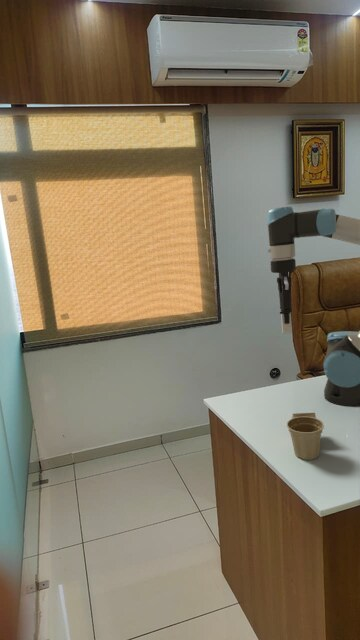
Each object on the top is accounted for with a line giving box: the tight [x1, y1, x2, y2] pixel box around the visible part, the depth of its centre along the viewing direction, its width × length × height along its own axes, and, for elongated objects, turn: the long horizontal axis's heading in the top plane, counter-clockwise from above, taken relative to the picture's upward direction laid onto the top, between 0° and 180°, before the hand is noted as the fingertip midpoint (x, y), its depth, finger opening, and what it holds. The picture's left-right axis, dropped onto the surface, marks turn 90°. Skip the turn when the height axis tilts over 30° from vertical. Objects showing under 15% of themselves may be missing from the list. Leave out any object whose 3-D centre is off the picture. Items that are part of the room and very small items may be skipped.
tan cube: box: [291, 412, 317, 419], centre depth 116 cm, size 6×6×6 cm
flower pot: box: [286, 416, 325, 461], centre depth 109 cm, size 9×9×9 cm
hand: (287, 332), depth 132 cm, fingers closed
